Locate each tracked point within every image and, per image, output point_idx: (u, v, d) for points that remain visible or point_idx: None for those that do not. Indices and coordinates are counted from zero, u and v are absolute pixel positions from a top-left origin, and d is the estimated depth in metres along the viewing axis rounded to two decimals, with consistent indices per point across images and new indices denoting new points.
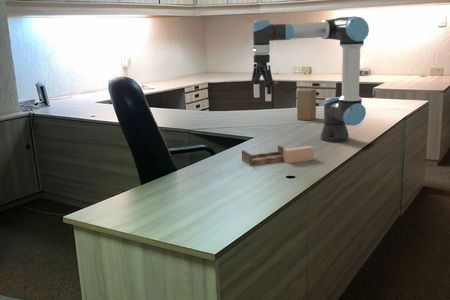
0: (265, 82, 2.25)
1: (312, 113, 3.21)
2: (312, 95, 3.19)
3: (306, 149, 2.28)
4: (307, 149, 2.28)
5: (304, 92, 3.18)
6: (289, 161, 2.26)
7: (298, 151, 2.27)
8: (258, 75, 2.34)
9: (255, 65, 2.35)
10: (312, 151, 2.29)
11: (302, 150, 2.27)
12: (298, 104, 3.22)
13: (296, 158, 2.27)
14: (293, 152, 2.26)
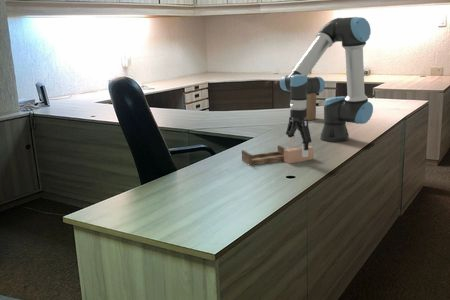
0: (302, 138, 2.21)
1: (312, 113, 3.21)
2: (312, 95, 3.19)
3: None
4: None
5: None
6: (290, 161, 2.26)
7: (299, 151, 2.27)
8: (294, 129, 2.30)
9: (291, 118, 2.30)
10: (312, 151, 2.30)
11: None
12: None
13: (297, 158, 2.27)
14: (294, 152, 2.25)
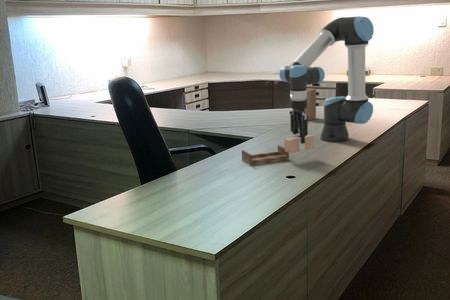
0: (299, 131, 2.23)
1: (312, 113, 3.21)
2: (312, 95, 3.19)
3: (307, 138, 2.28)
4: (307, 138, 2.28)
5: None
6: (292, 150, 2.24)
7: None
8: (296, 122, 2.27)
9: (291, 112, 2.29)
10: (312, 139, 2.29)
11: None
12: None
13: (298, 147, 2.26)
14: (295, 141, 2.24)
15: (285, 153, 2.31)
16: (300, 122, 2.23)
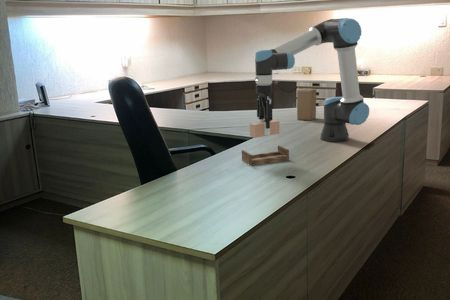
0: (264, 116, 2.23)
1: (312, 113, 3.21)
2: (312, 95, 3.19)
3: (272, 123, 2.27)
4: (273, 123, 2.28)
5: (304, 92, 3.18)
6: (256, 135, 2.24)
7: None
8: (262, 107, 2.27)
9: (257, 97, 2.29)
10: (278, 125, 2.29)
11: None
12: (298, 104, 3.22)
13: (263, 132, 2.26)
14: (260, 126, 2.24)
15: (285, 153, 2.31)
16: (265, 107, 2.23)
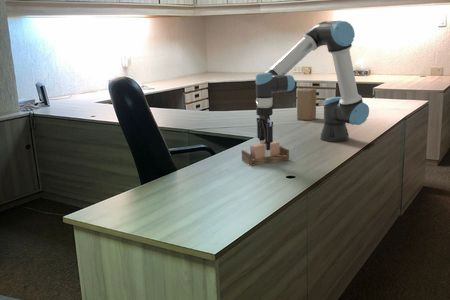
0: (265, 138, 2.26)
1: (312, 113, 3.21)
2: (312, 95, 3.19)
3: (272, 144, 2.30)
4: (273, 144, 2.30)
5: (304, 92, 3.18)
6: (257, 156, 2.27)
7: None
8: (262, 128, 2.30)
9: (258, 119, 2.32)
10: (278, 146, 2.32)
11: None
12: (298, 104, 3.22)
13: (264, 154, 2.28)
14: (260, 148, 2.27)
15: (285, 153, 2.31)
16: (265, 129, 2.25)
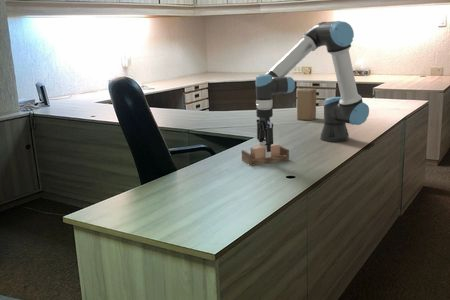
0: (265, 139, 2.26)
1: (312, 113, 3.21)
2: (312, 95, 3.19)
3: (273, 146, 2.30)
4: (273, 146, 2.30)
5: (304, 92, 3.18)
6: None
7: None
8: (262, 130, 2.30)
9: (258, 120, 2.32)
10: (278, 148, 2.32)
11: None
12: (298, 104, 3.22)
13: (264, 156, 2.29)
14: (260, 150, 2.27)
15: (285, 153, 2.31)
16: (266, 131, 2.25)
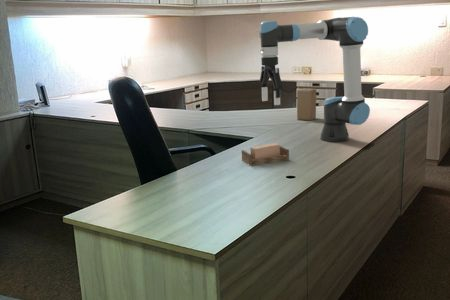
0: (274, 85, 2.17)
1: (312, 113, 3.21)
2: (312, 95, 3.19)
3: (273, 146, 2.30)
4: (273, 146, 2.30)
5: (304, 92, 3.18)
6: None
7: (265, 149, 2.28)
8: (266, 78, 2.26)
9: (263, 68, 2.27)
10: (278, 148, 2.32)
11: (269, 147, 2.29)
12: (298, 104, 3.22)
13: (264, 156, 2.29)
14: (260, 150, 2.27)
15: (285, 153, 2.31)
16: (272, 77, 2.18)
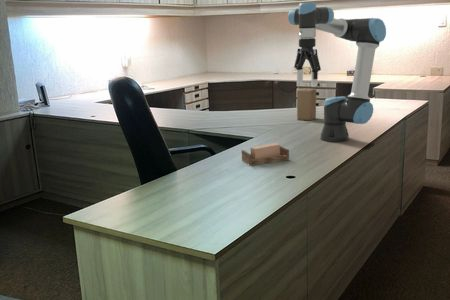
0: (311, 67, 2.18)
1: (312, 113, 3.21)
2: (312, 95, 3.19)
3: (273, 146, 2.30)
4: (273, 146, 2.30)
5: (304, 92, 3.18)
6: None
7: (265, 149, 2.28)
8: (302, 60, 2.27)
9: (299, 50, 2.27)
10: (278, 148, 2.32)
11: (269, 147, 2.29)
12: (298, 104, 3.22)
13: (264, 156, 2.29)
14: (260, 150, 2.27)
15: (285, 153, 2.31)
16: (310, 59, 2.19)
